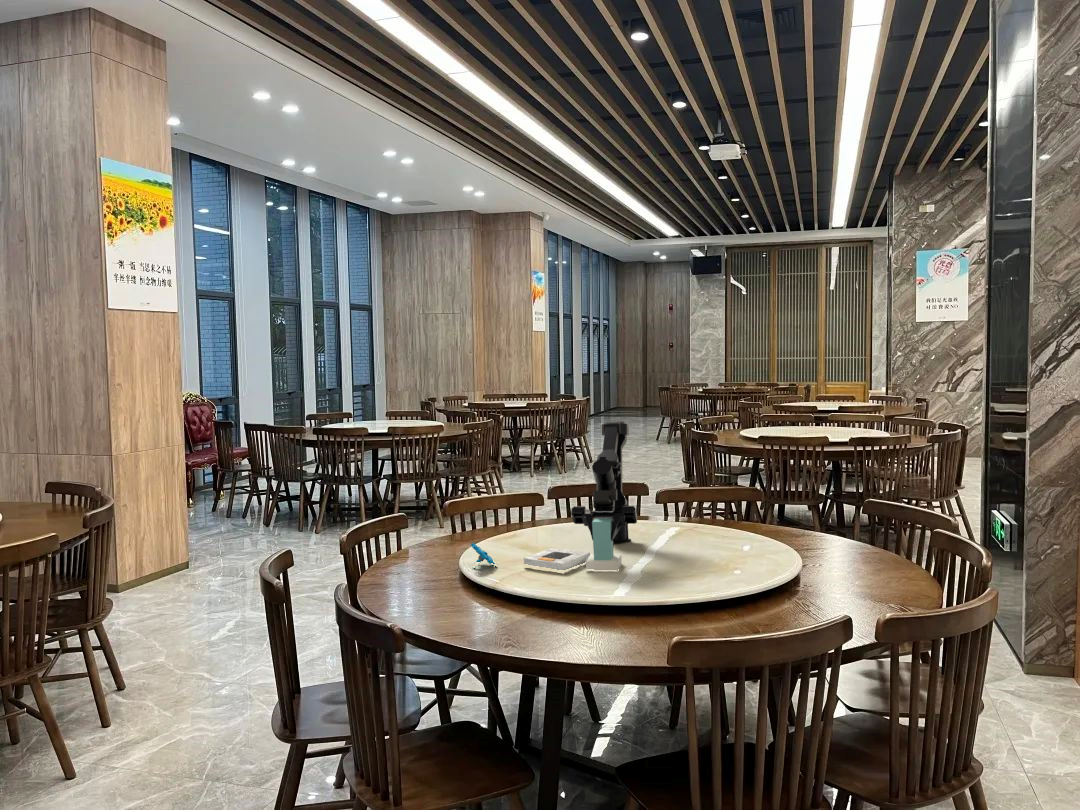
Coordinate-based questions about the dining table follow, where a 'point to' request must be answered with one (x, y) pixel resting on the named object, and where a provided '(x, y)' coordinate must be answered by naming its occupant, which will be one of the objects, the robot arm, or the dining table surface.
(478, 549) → the blue splat disc
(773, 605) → the dining table surface
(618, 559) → the white flat square block
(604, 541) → the teal square peg
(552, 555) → the hole plate
